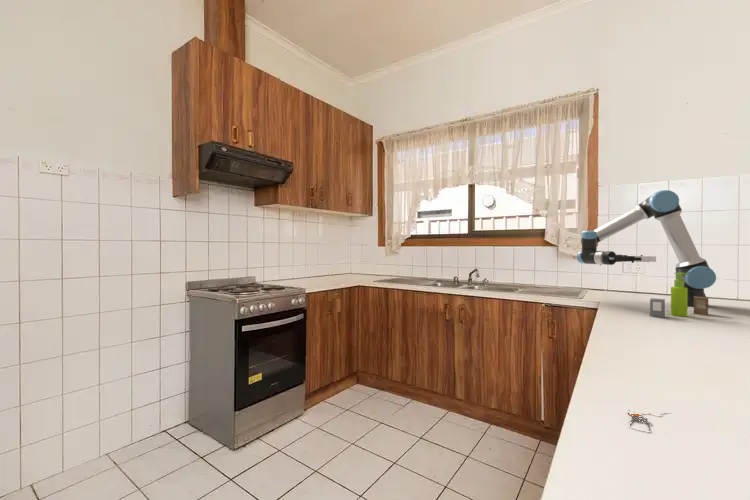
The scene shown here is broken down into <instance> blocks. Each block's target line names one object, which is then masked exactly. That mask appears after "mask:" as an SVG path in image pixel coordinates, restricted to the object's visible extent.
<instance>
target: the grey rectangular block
mask: <svg viewBox="0 0 750 500" xmlns="http://www.w3.org/2000/svg"><path fill="white" fill-rule="evenodd" d="M665 300H666V299H665V298H657V297H656V298H653V297H651V298H650V299H649V317H650V316H652V317H651V318H660V317H663V319H664V318H665V315H666V313H665V312H666V311H665V308H666V304H665V302H666V301H665Z"/></svg>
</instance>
